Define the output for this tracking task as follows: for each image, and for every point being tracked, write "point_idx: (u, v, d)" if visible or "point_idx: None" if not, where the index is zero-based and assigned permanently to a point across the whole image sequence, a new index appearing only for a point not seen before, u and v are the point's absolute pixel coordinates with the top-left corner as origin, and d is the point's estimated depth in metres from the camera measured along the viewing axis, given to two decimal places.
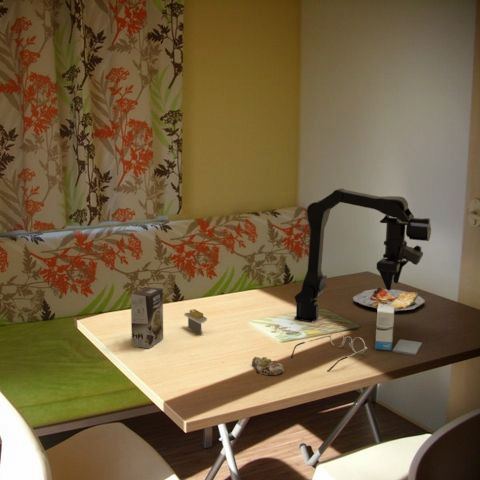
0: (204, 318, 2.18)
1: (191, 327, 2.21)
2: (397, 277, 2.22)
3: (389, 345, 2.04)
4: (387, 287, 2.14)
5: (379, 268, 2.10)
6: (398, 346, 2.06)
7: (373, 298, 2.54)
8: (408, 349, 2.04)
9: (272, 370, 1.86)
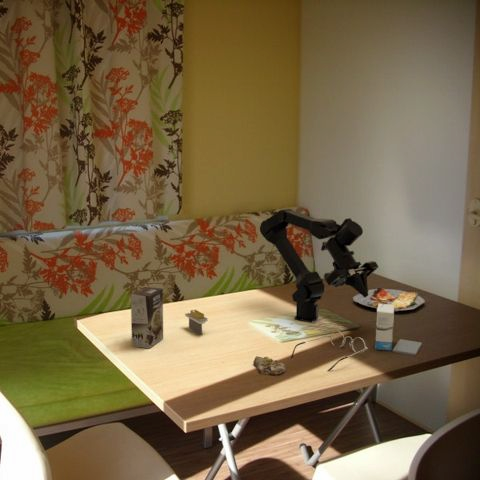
0: (205, 318, 2.17)
1: (192, 327, 2.21)
2: None
3: (389, 345, 2.04)
4: None
5: None
6: (398, 346, 2.06)
7: (373, 298, 2.54)
8: (408, 349, 2.04)
9: (273, 370, 1.86)
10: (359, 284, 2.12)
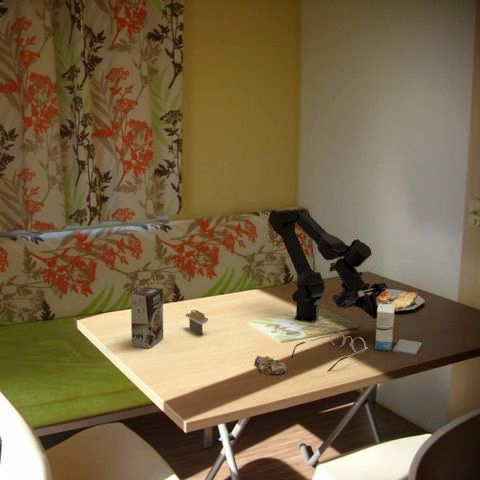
0: (205, 319, 2.17)
1: (192, 328, 2.21)
2: None
3: (389, 345, 2.04)
4: None
5: None
6: (398, 346, 2.06)
7: None
8: (408, 349, 2.04)
9: (274, 369, 1.86)
10: (368, 306, 2.10)
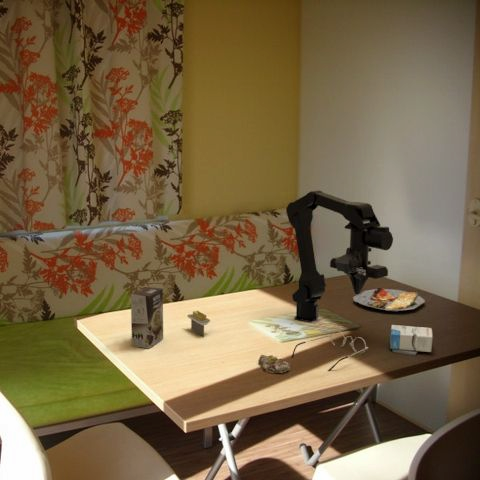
0: (207, 320, 2.16)
1: (194, 329, 2.20)
2: None
3: (395, 347, 2.04)
4: None
5: None
6: None
7: (373, 298, 2.54)
8: None
9: (278, 368, 1.87)
10: (364, 282, 2.15)
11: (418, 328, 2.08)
